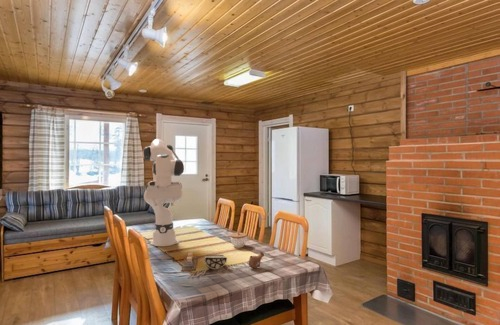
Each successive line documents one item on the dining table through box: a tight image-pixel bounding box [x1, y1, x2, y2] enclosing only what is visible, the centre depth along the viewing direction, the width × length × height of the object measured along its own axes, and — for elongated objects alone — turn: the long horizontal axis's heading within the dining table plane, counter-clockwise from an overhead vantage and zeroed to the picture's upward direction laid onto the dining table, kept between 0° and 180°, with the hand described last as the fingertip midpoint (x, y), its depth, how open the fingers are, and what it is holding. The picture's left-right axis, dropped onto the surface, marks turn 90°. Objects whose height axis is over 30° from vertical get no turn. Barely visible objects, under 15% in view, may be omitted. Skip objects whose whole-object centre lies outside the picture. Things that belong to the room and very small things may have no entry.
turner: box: [184, 252, 194, 268], centre depth 171 cm, size 16×4×3 cm, turn 7°
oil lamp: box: [248, 251, 265, 269], centre depth 165 cm, size 9×4×8 cm, turn 112°
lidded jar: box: [230, 231, 248, 249], centre depth 205 cm, size 11×11×9 cm
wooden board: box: [180, 256, 198, 272], centre depth 171 cm, size 20×7×1 cm, turn 7°
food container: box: [203, 254, 228, 270], centre depth 166 cm, size 12×6×10 cm
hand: (164, 205), depth 181 cm, fingers open, 8 cm apart
